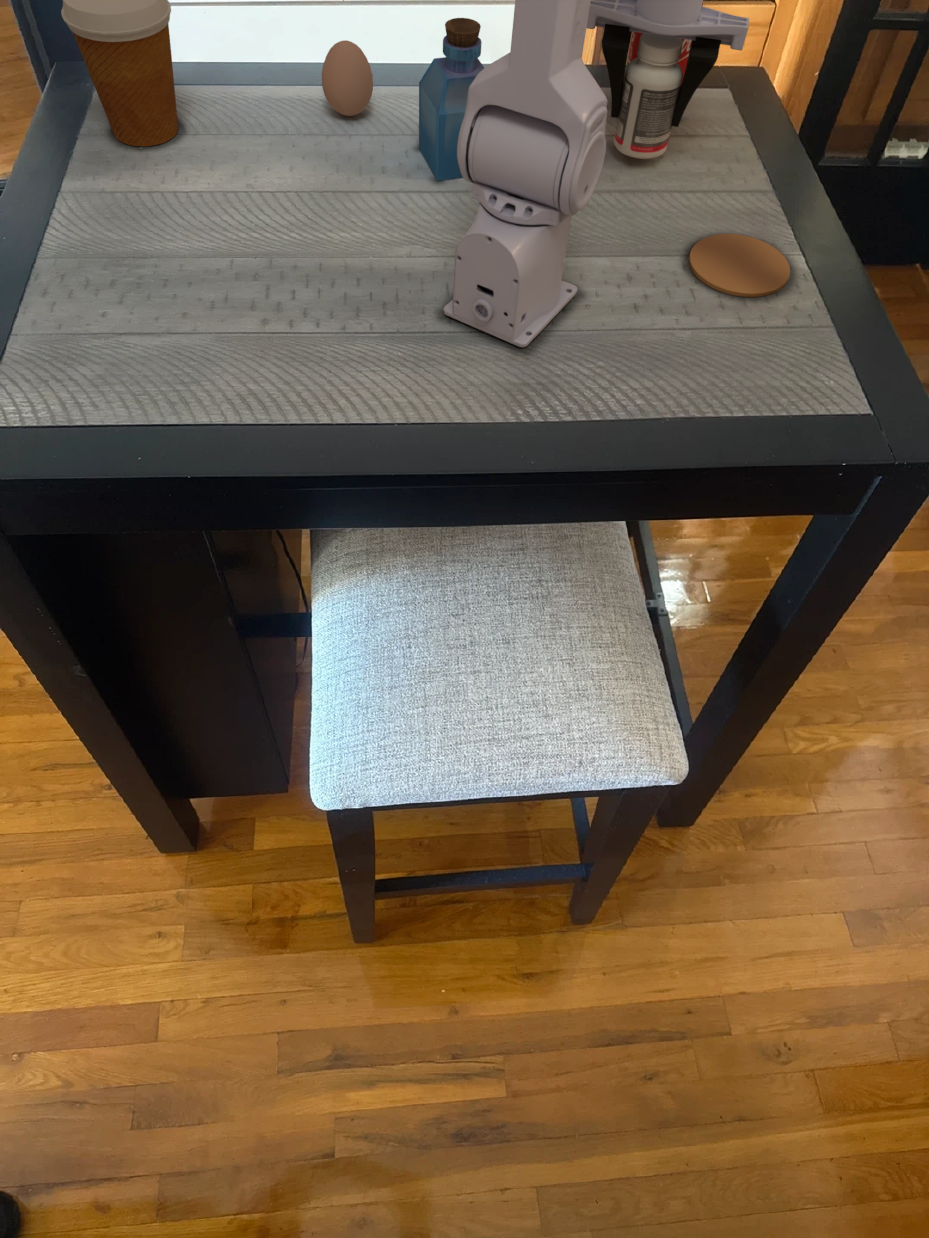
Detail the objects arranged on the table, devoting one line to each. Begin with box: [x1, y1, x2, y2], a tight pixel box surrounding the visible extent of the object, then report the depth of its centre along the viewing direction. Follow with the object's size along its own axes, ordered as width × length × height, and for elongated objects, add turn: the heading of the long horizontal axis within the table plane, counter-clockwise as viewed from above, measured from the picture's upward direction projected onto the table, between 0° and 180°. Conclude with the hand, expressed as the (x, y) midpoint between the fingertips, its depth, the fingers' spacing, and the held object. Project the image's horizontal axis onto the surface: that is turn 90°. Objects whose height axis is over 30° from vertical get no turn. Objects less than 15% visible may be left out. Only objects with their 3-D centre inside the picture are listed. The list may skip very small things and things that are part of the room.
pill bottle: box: [613, 33, 683, 160], centre depth 85 cm, size 5×5×10 cm
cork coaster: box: [688, 233, 791, 298], centre depth 80 cm, size 9×9×1 cm
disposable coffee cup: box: [60, 0, 179, 147], centre depth 84 cm, size 10×10×12 cm
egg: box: [321, 40, 374, 117], centre depth 90 cm, size 5×5×7 cm
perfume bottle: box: [418, 17, 485, 182], centre depth 83 cm, size 6×6×12 cm
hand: (645, 117), depth 87 cm, fingers closed on pill bottle, 5 cm apart
